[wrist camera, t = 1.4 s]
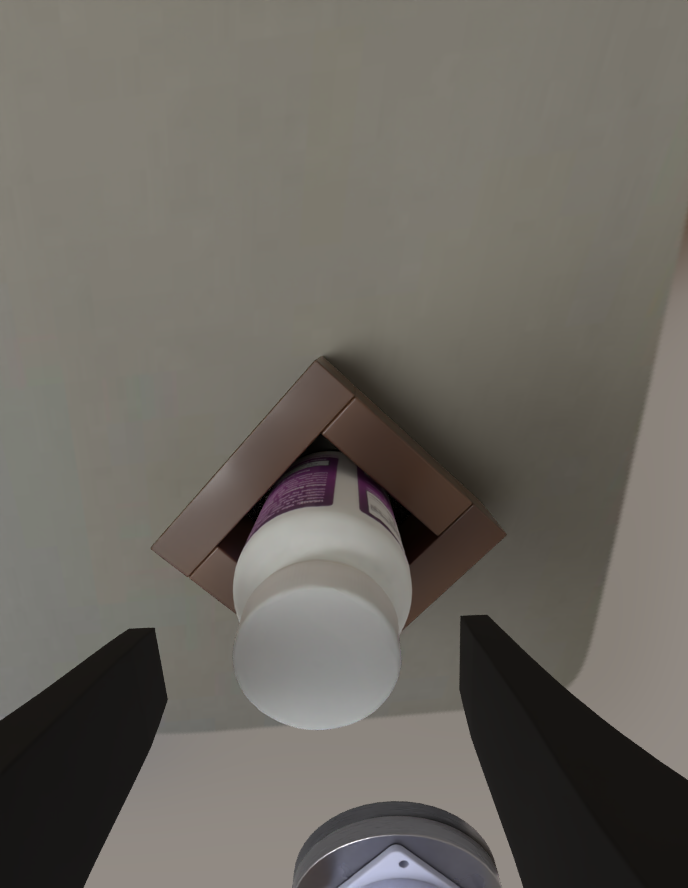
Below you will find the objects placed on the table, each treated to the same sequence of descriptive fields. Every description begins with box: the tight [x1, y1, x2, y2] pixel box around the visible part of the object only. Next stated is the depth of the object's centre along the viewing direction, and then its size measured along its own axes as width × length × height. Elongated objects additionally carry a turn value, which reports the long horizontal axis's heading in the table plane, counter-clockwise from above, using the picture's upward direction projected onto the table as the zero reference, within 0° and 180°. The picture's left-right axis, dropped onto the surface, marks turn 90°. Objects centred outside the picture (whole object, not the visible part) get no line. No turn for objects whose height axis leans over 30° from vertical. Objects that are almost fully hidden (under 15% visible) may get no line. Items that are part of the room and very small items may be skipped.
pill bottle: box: [233, 451, 412, 730], centre depth 15 cm, size 5×5×10 cm
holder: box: [151, 356, 507, 630], centre depth 18 cm, size 9×9×4 cm
